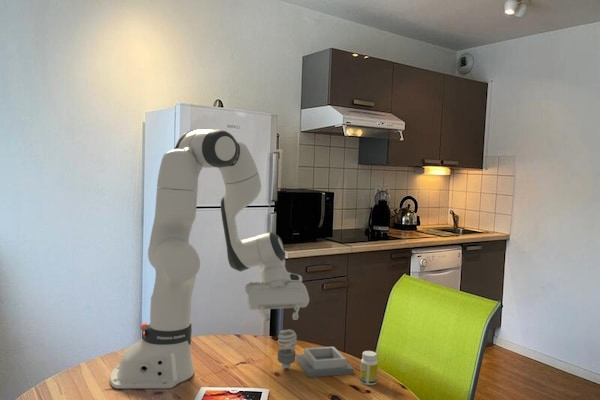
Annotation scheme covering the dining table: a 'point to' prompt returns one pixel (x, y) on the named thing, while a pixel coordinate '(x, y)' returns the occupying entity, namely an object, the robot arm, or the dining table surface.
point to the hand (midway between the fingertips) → (281, 319)
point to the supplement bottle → (368, 368)
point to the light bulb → (286, 348)
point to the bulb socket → (323, 362)
